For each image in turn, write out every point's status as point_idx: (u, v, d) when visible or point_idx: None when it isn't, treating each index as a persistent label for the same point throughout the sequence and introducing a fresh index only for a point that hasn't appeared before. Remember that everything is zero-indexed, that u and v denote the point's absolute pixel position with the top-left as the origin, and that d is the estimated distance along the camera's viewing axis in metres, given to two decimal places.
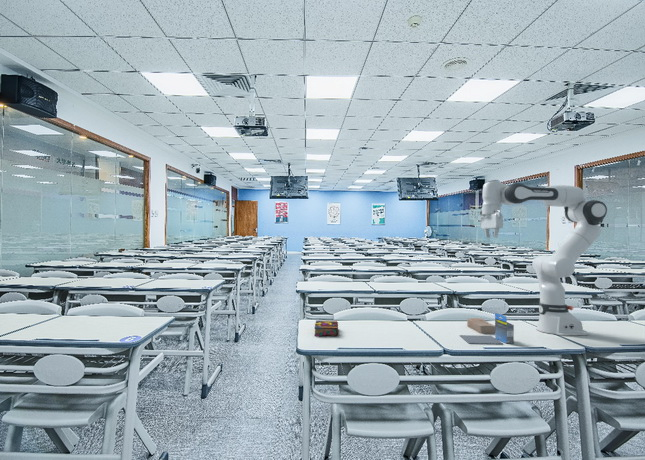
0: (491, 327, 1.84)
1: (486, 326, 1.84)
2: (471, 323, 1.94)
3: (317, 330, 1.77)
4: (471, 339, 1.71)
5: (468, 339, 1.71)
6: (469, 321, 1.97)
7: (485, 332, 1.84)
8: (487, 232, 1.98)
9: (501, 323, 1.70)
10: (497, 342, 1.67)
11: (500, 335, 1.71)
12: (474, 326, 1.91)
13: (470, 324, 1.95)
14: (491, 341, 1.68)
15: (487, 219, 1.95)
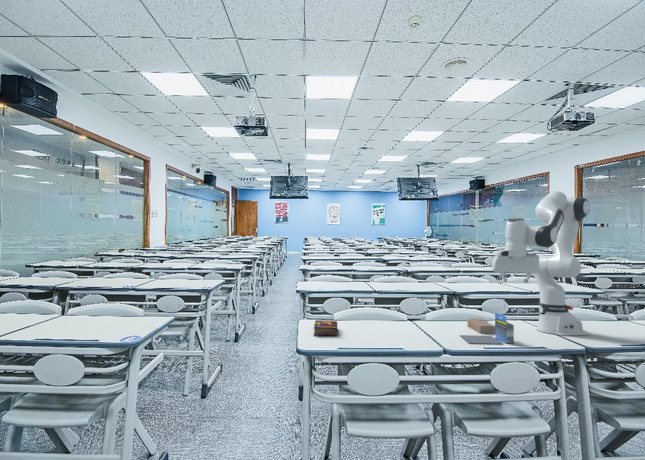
0: (491, 327, 1.84)
1: (486, 326, 1.84)
2: (471, 323, 1.94)
3: (316, 330, 1.78)
4: (471, 339, 1.71)
5: (468, 339, 1.71)
6: (469, 321, 1.97)
7: (485, 332, 1.84)
8: None
9: (501, 323, 1.70)
10: (497, 342, 1.67)
11: (500, 335, 1.71)
12: (474, 326, 1.91)
13: (470, 324, 1.96)
14: (491, 341, 1.68)
15: (513, 262, 1.72)
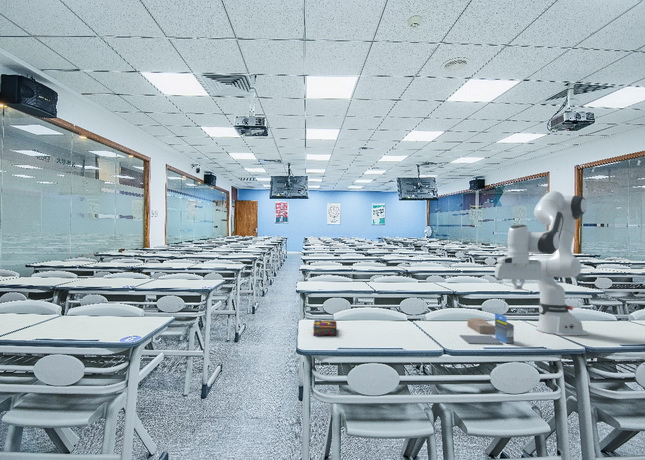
0: (490, 327, 1.84)
1: (485, 326, 1.84)
2: (471, 323, 1.94)
3: (316, 330, 1.78)
4: (471, 339, 1.71)
5: (468, 339, 1.71)
6: (469, 321, 1.97)
7: (484, 332, 1.84)
8: None
9: (501, 323, 1.70)
10: (497, 342, 1.67)
11: (500, 335, 1.71)
12: (474, 326, 1.91)
13: (470, 324, 1.96)
14: (491, 341, 1.68)
15: (516, 268, 1.70)
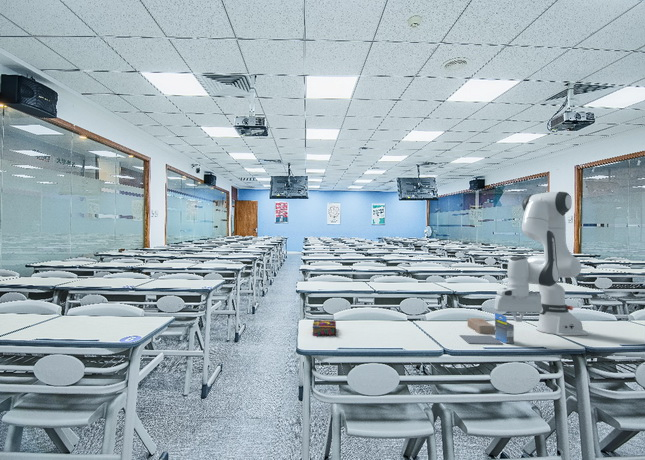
0: (490, 327, 1.84)
1: (485, 326, 1.84)
2: (471, 323, 1.95)
3: (315, 329, 1.78)
4: (471, 339, 1.71)
5: (468, 339, 1.71)
6: (469, 321, 1.97)
7: (484, 332, 1.84)
8: None
9: (501, 323, 1.70)
10: (497, 342, 1.67)
11: (500, 335, 1.71)
12: (473, 326, 1.91)
13: (470, 324, 1.96)
14: (491, 341, 1.68)
15: (516, 301, 1.70)
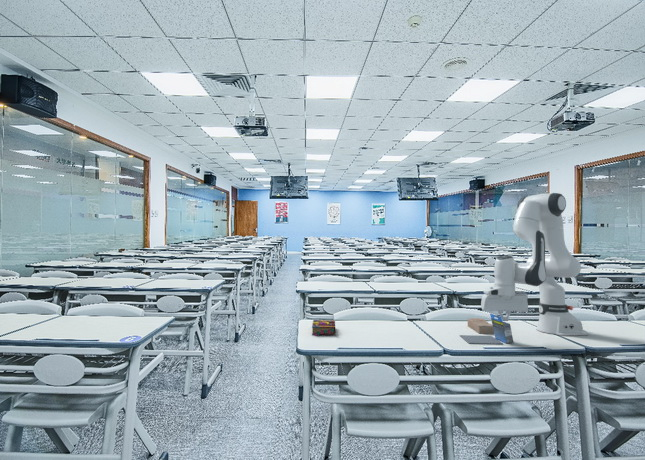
0: (490, 327, 1.84)
1: (485, 326, 1.84)
2: (471, 323, 1.95)
3: (315, 329, 1.79)
4: (471, 339, 1.71)
5: (468, 339, 1.71)
6: (469, 321, 1.97)
7: (484, 332, 1.84)
8: None
9: (498, 323, 1.70)
10: (497, 342, 1.67)
11: (499, 335, 1.71)
12: (473, 326, 1.91)
13: (470, 324, 1.96)
14: (491, 341, 1.68)
15: (502, 300, 1.70)
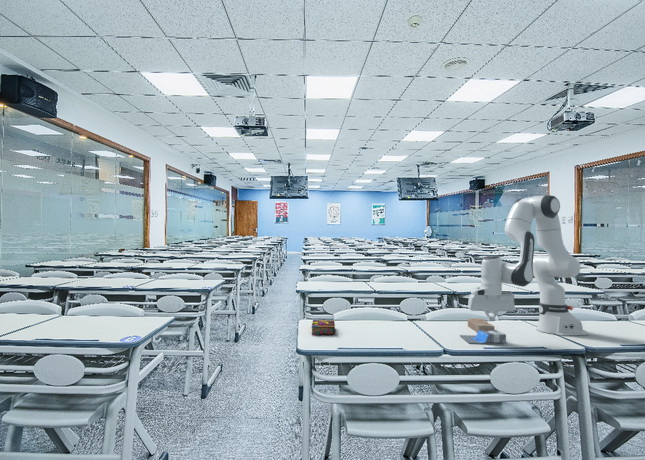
0: (489, 327, 1.84)
1: (484, 326, 1.84)
2: (471, 323, 1.95)
3: (314, 329, 1.79)
4: (471, 339, 1.71)
5: (468, 339, 1.71)
6: (469, 321, 1.97)
7: None
8: None
9: None
10: None
11: None
12: (473, 326, 1.91)
13: (470, 324, 1.96)
14: None
15: (489, 300, 1.70)
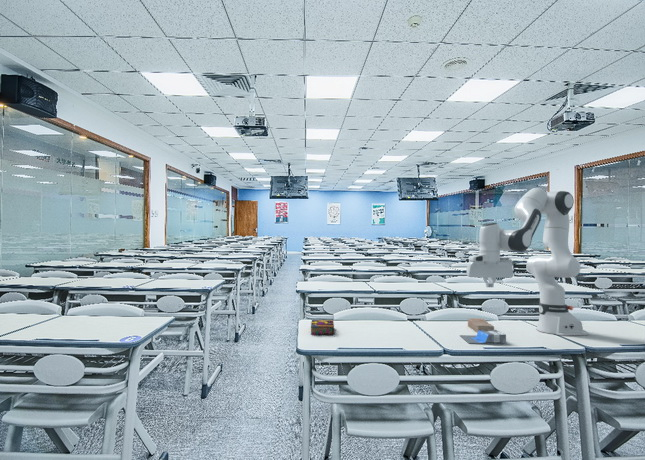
0: (489, 327, 1.84)
1: (484, 326, 1.84)
2: (471, 323, 1.95)
3: (313, 329, 1.80)
4: (471, 339, 1.71)
5: (468, 339, 1.71)
6: (469, 321, 1.97)
7: None
8: None
9: None
10: (497, 342, 1.67)
11: None
12: (473, 326, 1.91)
13: (470, 324, 1.96)
14: None
15: (487, 266, 1.71)
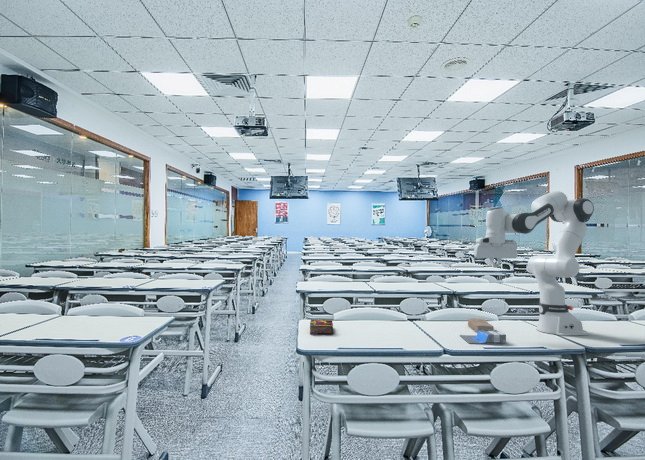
0: (488, 327, 1.84)
1: (483, 326, 1.84)
2: (470, 323, 1.95)
3: (312, 328, 1.80)
4: (471, 339, 1.71)
5: (468, 339, 1.71)
6: (469, 321, 1.97)
7: None
8: None
9: None
10: None
11: None
12: (473, 326, 1.91)
13: (470, 324, 1.96)
14: None
15: (493, 248, 1.83)
